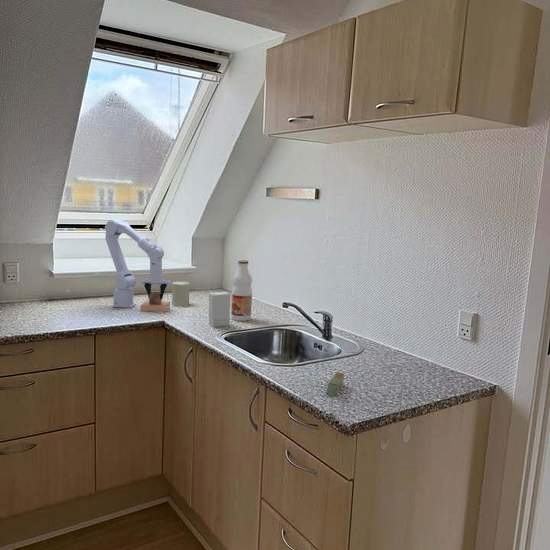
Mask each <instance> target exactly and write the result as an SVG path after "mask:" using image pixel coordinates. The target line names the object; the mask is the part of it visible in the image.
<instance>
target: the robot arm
mask: <svg viewBox="0 0 550 550" xmlns="http://www.w3.org/2000/svg"><path fill="white" fill-rule="evenodd" d="M104 230H105V241H106V244H107V245H106V246H107V249H108V250H109V253H110V256H111V259H112V262H113V265H114V267H115V270H116V273H115V277H114V278H115V285H116V288H114V290H113V294H112V295H113V296H112V297H113V298H112V299H113V300H112V301H113V305H112V307H113V308H130V309H132V308H134V307H135V306H136V303H134V286H135V285H136V283H137V279H136V277H135V275H134V274H133V272H132V271H131V270H130V269H129V268H128V266H127V263H126V260H125V258H124V255H123V252H122V248H121V246H120V243H119V241H118V239H119V238H120V236H121V235H122V234H125V235H127V236H128V237H129V238H131V239H132V240H133V241H135V242H136V243H137V246H138V248H139V249H141V250H143V252H144V253H146V254H147V256H148V259H149V279H141V280H140V285H144V288H145V291H146V294H147V297H148V299H149V294H150V293H152V285H159V288H160V289H159V291H160V292H159V293H160V299H162V300H163V299H164V293H165V290H166V288H167V286H170V285H172V283H171V282H172V281H171V280H165V279H162V277H163V275H162V272H163V268H162V267H163V258H164V255H165V252H164V249H163V248H162V247H160V246H157V244H154V243H153V242H152V241H151V239H150V238H149V237H142V236H141V235H140V234H139V233H138V232H137V231H136V230H135V229H133V227H131V225H130V224H129V223H128V222H127V221H125V220H124V219H122V218H121V219H109V220H108V221H107V222H106V224H105V226H104Z"/></svg>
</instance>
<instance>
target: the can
mask: <svg viewBox="0 0 550 550" xmlns="http://www.w3.org/2000/svg"><path fill="white" fill-rule="evenodd" d="M190 284H191V283H190V282H188V281H173V282H172V283H171V285H172V286H171V287H172V288H171V290H172V291H171V295H172V296H171V297H172V298H171V305H172V306H173V305H174V306H173V307H187V305H188V306H190Z"/></svg>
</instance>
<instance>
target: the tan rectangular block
mask: <svg viewBox="0 0 550 550" xmlns="http://www.w3.org/2000/svg"><path fill="white" fill-rule="evenodd" d="M139 305H140V312H147V311H155V312H156V313H166V312H165V311H166V310H167V309H168V308H169V307H170V308H171V301H167V300H166V301H165V300H163V301H162V303H161V304H159V305H155V304H149V300H146V301H144V302H142V303H141V304H139ZM170 308H169V309H170ZM169 309H168V310H169ZM168 310H167V311H168ZM155 312H154V313H155Z"/></svg>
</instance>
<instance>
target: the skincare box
mask: <svg viewBox="0 0 550 550" xmlns="http://www.w3.org/2000/svg"><path fill="white" fill-rule="evenodd" d="M230 302H231V294H230V293H229V292H227V291H216V292H209V293H208V325H209V326H210V327H212V328H218V327H227V326H229V327H230V323H231V322H230V320H231V314H230V313H231V311H230V310H231V309H230V307H231V303H230Z"/></svg>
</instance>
